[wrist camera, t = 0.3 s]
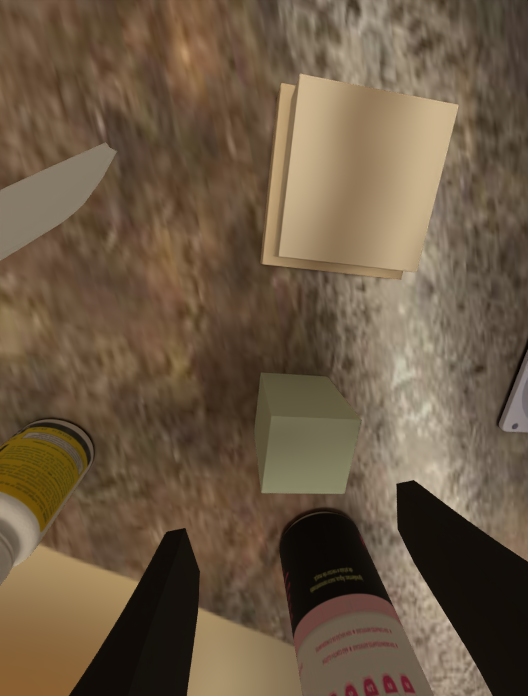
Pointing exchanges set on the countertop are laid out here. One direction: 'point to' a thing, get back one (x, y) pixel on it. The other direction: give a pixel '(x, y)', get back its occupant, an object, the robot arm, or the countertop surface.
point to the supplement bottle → (37, 484)
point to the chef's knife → (49, 197)
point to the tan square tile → (360, 174)
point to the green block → (303, 435)
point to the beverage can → (344, 615)
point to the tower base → (274, 198)
